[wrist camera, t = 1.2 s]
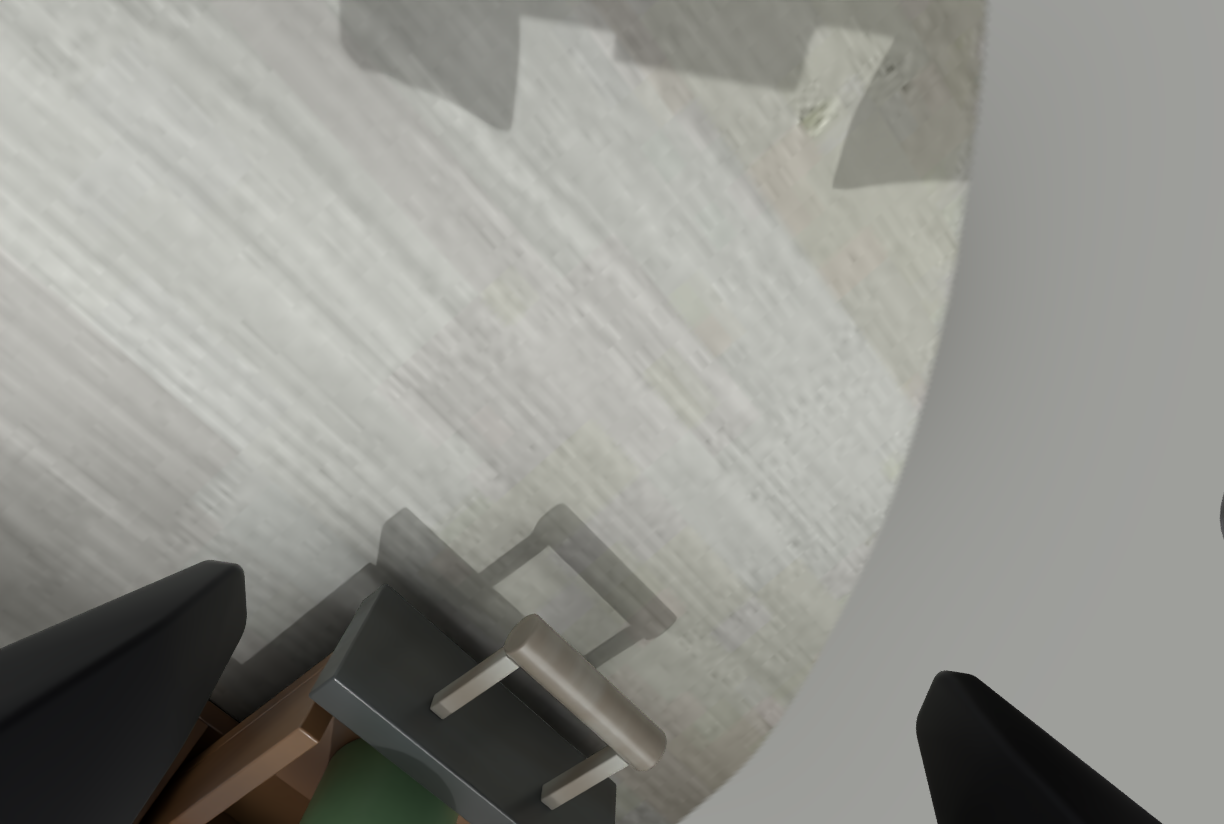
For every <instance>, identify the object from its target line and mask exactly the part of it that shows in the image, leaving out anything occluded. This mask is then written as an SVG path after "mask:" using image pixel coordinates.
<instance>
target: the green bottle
mask: <svg viewBox="0 0 1224 824" xmlns="http://www.w3.org/2000/svg"><path fill="white" fill-rule="evenodd" d="M458 815H459V814H457V813H456V812H455V811H454V810H452V809H451V808H450V807H448V806H447V805H446V804H445V803H443V802H442V801H441V800H440V799H438V798H437V797H436V796H434V795H433V794H432V793H431V792H429V791H428V790H427V789H425V788H424V787H423V786H422V785H420V784H419V783H418V782H417V781H415V780H414V779H413V778H411V777H410V776H409V775H408V774H406V773H405V772H404V771H402V770H401V769H400V768H399V767H397V766H396V765H395V764H394V763H392V762H391V761H390V760H388V759H387V758H386V757H385V756H383V755H382V754H381V753H379V752H378V751H377V750H376V749H374V748H373V747H372V746H371V745H369V744H368V743H367V742H365V741H364V740H363V739H362V738H359V739H356V740H354V741H352V742H350V743H348V744H346V745H345V746H343V747H342V748H341V749H340V750H338V751H337V752H336V753H335V754H334V756H333V757H332V758H331V760H330V762H329V764H328V766H327V768H326V770H325V772H324V774H323V776H322V778H321V780H320V782H319V784H318V786H317V788H316V790H315V792H314V794H313V796H312V799H311V801H310V803H309V805H308V807H307V809H306V811H305V813H304V815H303V817H302V819H301V821H300V823H299V824H456V823H457V819H458Z"/></svg>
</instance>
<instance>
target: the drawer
mask: <svg viewBox="0 0 1224 824" xmlns="http://www.w3.org/2000/svg"><path fill="white" fill-rule="evenodd" d="M519 667H521V668H522V669H524V670H525V671H526V672H527V673H528V674H529V675H530V676H531V677H533V678H534V679H535V680H536V681H537V682H538V683H539V684H540V685H542V686H543V687H544V688H545V689H546V690H547V691H548V692H549V693H550V694H552V695H553V696H554V697H555V698H556V699H557V700H558V701H559V702H561V703H562V704H563V705H564V706H565V707H566V708H567V709H568V710H570V711H571V712H572V713H573V714H574V715H575V716H576V717H577V718H578V719H580V720H581V721H582V722H583V723H584V724H585V725H586V726H587V727H589V728H590V729H591V730H592V731H593V732H594V733H595V734H596V735H598V736H599V737H600V738H601V739H602V740H603V741H604V742H605V743H606V744H608V746H607V747H605V748H603V749H602V750H600V751H598V752H597V753H595V754H593V755H592V756H590V757H588V758H586V757H585V756H583V755H582V754H581V753H580V752H579V751H578V750H577V749H575V748H574V747H573V746H572V745H571V744H570V743H569V742H567V741H566V740H565V739H564V738H563V737H562V736H561V735H559V734H558V733H557V732H556V731H555V730H554V729H552V728H551V727H550V726H549V725H548V724H547V723H546V722H544V721H543V720H542V719H541V718H540V717H539V716H538V715H536V714H535V713H534V712H533V711H532V710H531V709H530V708H528V707H527V706H526V705H525V704H524V703H523V702H522V701H520V700H519V699H518V698H517V697H516V696H515V695H514V694H512V693H511V692H510V691H509V690H508V689H507V688H506V687H504V686H503V685H502V684H501V683H500V682H499V681H500V680H502V679H503V678H505V677H506V676H508V675H509V674H511V673H512V672H514V671H515V670H517V669H518V668H519ZM359 738H362V739H363V740H364V741H365V742H367V743H368V744H369V745H371V746H372V747H373V748H374V749H376V750H377V751H378V752H379V753H381V754H382V755H383V756H385V757H386V758H387V759H388V760H390V761H391V762H392V763H394V764H395V765H396V766H397V767H399V768H400V769H401V770H402V771H404V772H405V773H406V774H408V775H409V776H410V777H411V778H413V779H414V780H415V781H417V782H418V783H419V784H420V785H422V786H423V787H424V788H425V789H427V790H428V791H429V792H431V793H432V794H433V795H434V796H436V797H437V798H438V799H440V800H441V801H442V802H443V803H445V804H446V805H447V806H448V807H450V808H451V809H452V810H454V811H455V812H456V813H457V814H459V815H458V819H457V823H456V824H615V807H616V784H615V783H614V782H613V781H612V780H611V779H610V778H609V776H611V775H613V774H614V773H616V772H618V771H620V770H621V769H623V768H625V767H626V766H628V764H630V765H631V766H632V767H633V768H634V769H636V770H638V771H647V770H649V769H651V768H652V767H654V766H655V765H656V764H657V763H658V762H659V760H660V759H661V757H662V756H663V754H664V752H665V749H666V743H667V741H666V736H665V734H664V732H663V731H662V730H661V729H660V728H659V727H658V726H657V725H656V724H655V723H653V722H652V721H651V720H650V719H649V718H648V717H647V716H646V715H645V714H644V713H643V712H642V711H641V710H640V709H638V708H637V707H636V706H635V705H634V704H633V703H632V702H631V701H630V700H629V699H628V698H627V697H626V696H624V695H623V694H622V693H621V692H620V691H619V690H618V689H617V688H616V687H615V686H614V685H613V684H612V683H611V682H609V681H608V680H607V679H606V678H605V677H604V676H603V675H602V674H601V673H600V672H599V671H598V670H597V669H595V668H594V667H593V666H592V665H591V664H590V663H589V662H588V661H587V660H586V659H585V658H584V657H583V656H582V655H580V654H579V653H578V652H577V651H576V650H575V649H574V648H573V647H572V646H571V645H570V644H569V643H568V642H567V641H565V640H564V639H563V638H562V637H561V636H560V635H559V634H558V633H557V632H556V631H555V630H554V629H553V628H551V627H550V626H549V625H548V624H547V623H546V622H545V621H544V620H543V619H542V618H541V617H540V616H539V615H536V614H531V615H528V616H527V617H525V618H524V619H522V620H521V621H520V622H519V623H518V624H517V625H516V626H515V627H514V628H513V630H512V631H511V632H510V634H509V635H508V637H507V639H506V641H505V644H504V647H502V648H501V649H500V650H498V651H497V652H495V653H494V654H492V655H491V656H489V657H488V658H487V659H485V660H484V661H482V662H481V663H479V664H478V663H477V662H476V661H475V660H474V659H472V658H471V657H470V656H469V655H468V654H467V653H466V652H464V651H463V650H462V649H461V648H460V647H459V646H458V645H456V644H455V643H454V642H453V641H452V640H451V639H450V638H448V637H447V636H446V635H445V634H444V633H443V632H441V631H440V630H439V629H438V628H437V627H436V626H435V625H433V624H432V623H431V622H430V621H429V620H428V619H427V618H425V617H424V616H423V615H422V614H421V613H420V612H419V611H417V610H416V609H415V608H414V607H413V606H412V605H411V604H409V603H408V602H407V601H406V600H405V599H404V598H403V597H401V596H400V595H399V594H398V593H397V592H396V591H395V590H393V589H392V588H391V587H390V586H389V585H388V584H384V585H382V586H381V587H380V588H379V589H377V590H376V591H375V592H374V593H372V594H371V595H370V596H368V597H367V598H366V599H365V600H363V602H362V604H361V605H360V607H359V609H358V610H357V612H356V614H355V616H354V617H353V619H352V621H351V622H350V624H349V626H348V628H347V629H346V631H345V633H344V634H343V636H342V638H341V640H340V641H339V643H338V645H337V646H336V648H335V650H334V652H332V653H331V654H330V655H328V656H327V657H326V658H324V659H323V660H322V661H321V662H319V663H318V664H317V665H315V666H314V667H313V668H311V669H310V670H309V671H308V672H306V673H305V674H304V675H302V676H301V677H300V678H298V679H297V680H296V681H294V682H293V683H292V684H291V685H289V686H288V687H287V688H285V689H284V690H283V691H281V692H280V693H279V694H277V695H276V696H275V697H274V698H272V699H271V700H270V701H268V702H267V703H266V704H264V705H263V706H262V707H261V708H259V709H258V710H257V711H255V712H254V713H253V714H251V715H250V716H249V717H247V718H246V719H245V720H244V721H242V722H241V723H240V724H238V725H237V726H236V727H234V728H233V729H232V730H230V731H229V732H228V733H227V734H225V735H224V736H223V737H221V738H220V739H219V740H217V741H216V742H215V743H214V744H212V745H211V746H210V747H208V748H207V749H206V750H204V751H203V752H202V753H200V754H199V755H198V756H197V757H195V758H194V759H193V760H191V761H190V762H189V763H187V764H186V765H185V766H183V767H182V768H181V769H180V770H178V771H177V773H176V774H175V776H174V777H173V778H172V780H171V781H170V783H169V784H168V786H167V788H165V789H164V791H163V792H162V794H161V795H160V796H159V798H158V799H157V801H156V802H155V803H154V805H153V806H152V808H151V809H150V810H149V812H148V813H147V814H146V816H145V817H144V819H143V820H142V821H141V823H140V824H299V823H300V821H301V819H302V817H303V815H304V813H305V811H306V809H307V807H308V805H309V803H310V801H311V799H312V796H313V794H314V792H315V790H316V788H317V786H318V784H319V782H320V780H321V778H322V776H323V774H324V772H325V770H326V768H327V766H328V764H329V762H330V760H331V758H332V757H333V756H334V754H335V753H336V752H337V751H338V750H340V749H341V748H342V747H343V746H345V745H346V744H348V743H350V742H352V741H354V740H356V739H359Z"/></svg>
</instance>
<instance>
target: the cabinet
mask: <svg viewBox="0 0 1224 824" xmlns="http://www.w3.org/2000/svg"><path fill="white" fill-rule="evenodd" d="M238 724H240V723H238V722H237V721H236V720H234V719H233V718H232V717H230V716H229V715H227V714H226V713H225V712H223V711H222V710H221V709H219V708H218V707H217V706H215V705H214V704H213V703H211V702H210V701H209V700H208V701H207V703H206V705H205V707H204V708H203V710H202V712H201V714H200V716H199V718H198V720H197V722H196V724H195V726H194V727H193V729H192V731H191V733H190V735H189V736H188V738H187V740H186V742H185V744H184V745H183V747H182V749H181V750H180V752H179V753H178V755H177V757H176V758H175V760H174V761H173V763H172V765H171V766H170V768H169V769H168V771H167V772H166V774H165V775H164V777H163V778H162V780H161V781H160V783H159V784H158V786H157V787H156V789H155V790H154V792H153V793H152V795H151V796H150V798H149V799H148V801H147V802H146V804H145V805H144V807H143V808H142V810H141V811H140V813H139V814H138V816H137V817H136V819H135V820H134V822H133V823H132V824H140V823H141V821H142V820H143V819H144V817H145V816H146V814H147V813H148V812H149V810H150V809H151V808H152V806H153V805H154V803H155V802H156V801H157V799H158V798H159V796H160V795H161V794H162V792H163V791H164V789H165V788H167V786H168V784H169V783H170V781H171V780H172V778H173V777H174V776H175V774H176V773H177V771H178V770H180V769H181V768H182V767H183V766H185V765H186V764H187V763H189V762H190V761H191V760H193V759H194V758H195V757H197V756H198V755H199V754H200V753H202V752H203V751H204V750H206V749H207V748H208V747H210V746H211V745H212V744H214V743H215V742H216V741H217V740H219V739H220V738H221V737H223V736H224V735H225V734H227V733H228V732H229V731H230V730H232V729H233V728H234V727H236V726H237V725H238Z"/></svg>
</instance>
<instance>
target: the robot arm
mask: <svg viewBox="0 0 1224 824" xmlns="http://www.w3.org/2000/svg"><path fill="white" fill-rule="evenodd" d="M246 619H247V611H246V593H245V576H244V571H243V569H242V567H241V566H239V565H238V564H235V563H228V562H222V561H215V560H206V561H203V562H200V563H198V564H196V565H193V566H191V567H189V568H187V569H184V570H182V571H180V572H177V573H175V574H173V575H170V576H168V577H166V578H163V579H161V580H159V581H156V582H154V583H152V584H149V585H147V586H145V587H142V588H140V589H138V590H135V591H133V592H131V593H128V594H126V595H124V596H121V597H119V598H117V599H114V600H112V601H110V602H107V603H105V604H103V605H101V606H98V607H96V608H94V609H91V610H89V611H87V612H84V613H82V614H80V615H77V616H75V617H73V618H70V619H68V620H66V621H63V622H61V623H59V624H56V625H54V626H52V627H49V628H47V629H45V630H42V631H40V632H38V633H35V634H33V635H31V636H28V637H26V638H24V639H21V640H19V641H17V642H14V643H12V644H10V645H7V646H5V647H3V648H1V649H0V824H132V823H133V822H134V820H135V819H136V817H137V816H138V814H139V813H140V811H141V810H142V808H143V807H144V805H145V804H146V802H147V801H148V799H149V798H150V796H151V795H152V793H153V792H154V790H155V789H156V787H157V786H158V784H159V783H160V781H161V780H162V778H163V777H164V775H165V774H166V772H167V771H168V769H169V768H170V766H171V765H172V763H173V761H174V760H175V758H176V757H177V755H178V753H179V752H180V750H181V749H182V747H183V745H184V744H185V742H186V740H187V738H188V736H189V735H190V733H191V731H192V729H193V727H194V726H195V724H196V722H197V720H198V718H199V716H200V714H201V712H202V710H203V708H204V707H205V705H206V703H207V701H208V699H209V697H210V695H211V693H212V691H213V690H214V688H215V686H216V684H217V682H218V680H219V678H220V676H221V674H222V673H223V671H224V669H225V667H226V665H227V663H228V661H229V659H230V657H231V656H232V654H233V652H234V650H235V648H236V646H237V644H238V642H239V640H240V639H241V636H242V634H243V632H244V629H245V625H246ZM916 733H917V739H918V743H919V747H920V752H921V756H922V760H923V764H924V768H925V773H926V777H927V781H928V785H929V789H930V794H931V798H932V802H933V806H934V810H935V815H936V819H937V823H938V824H1162V823H1161V822H1160V821H1158V820H1157V819H1156V818H1154V817H1153V816H1152V815H1150V814H1149V813H1148V812H1147V811H1146V810H1144V809H1143V808H1142V807H1140V806H1139V805H1138V804H1137V803H1135V802H1134V801H1133V800H1131V799H1130V798H1129V797H1128V796H1127V795H1125V794H1124V793H1123V792H1121V791H1120V790H1119V789H1118V788H1116V787H1115V786H1114V785H1113V784H1111V783H1110V782H1109V781H1108V780H1106V779H1105V778H1104V777H1102V776H1101V775H1100V774H1099V773H1097V772H1096V771H1095V770H1094V769H1092V768H1091V767H1090V766H1088V765H1087V764H1086V763H1084V762H1083V761H1082V760H1081V759H1080V758H1078V757H1077V756H1076V755H1074V754H1073V753H1072V752H1071V751H1069V750H1068V749H1067V748H1066V747H1064V746H1063V745H1062V744H1060V743H1059V742H1058V741H1057V740H1055V739H1054V738H1053V737H1052V736H1050V735H1049V734H1048V733H1047V732H1045V731H1044V730H1043V729H1042V728H1040V727H1039V726H1038V725H1036V724H1035V723H1034V722H1033V721H1031V720H1030V719H1029V718H1028V717H1026V716H1025V715H1024V714H1022V713H1021V712H1020V711H1019V710H1017V709H1016V708H1015V707H1014V706H1012V705H1011V704H1010V703H1008V702H1007V701H1006V700H1005V699H1003V698H1002V697H1001V696H1000V695H998V694H997V693H995V691H993V690H992V689H991V688H990V687H988V686H987V685H986V684H984V683H983V682H982V681H981V680H979V679H978V678H977V677H975V676H973V675H970V674H965V673H959V672H952V671H941V672H939V673H938V674H937V675H936V676H935V678H934V680H933V682H932V684H931V686H930V689H929V691H928V693H927V696H926V698H925V700H924V703H923V705H922V707H921V709H920V711H919V714H918V717H917V722H916Z"/></svg>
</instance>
